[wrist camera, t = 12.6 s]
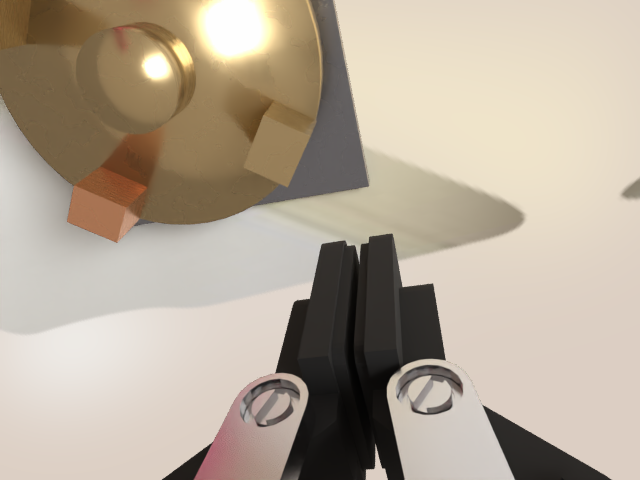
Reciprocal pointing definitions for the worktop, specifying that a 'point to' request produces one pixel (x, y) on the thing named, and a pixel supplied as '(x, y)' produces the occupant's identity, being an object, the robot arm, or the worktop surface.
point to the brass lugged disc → (163, 102)
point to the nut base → (327, 126)
